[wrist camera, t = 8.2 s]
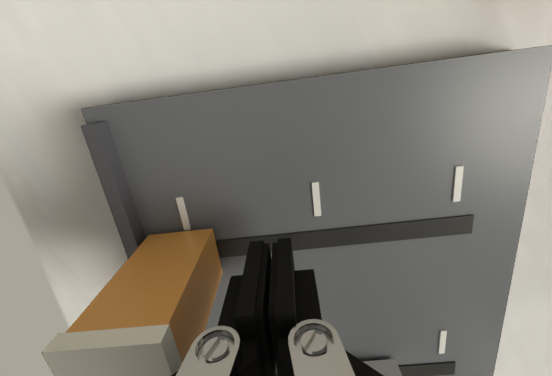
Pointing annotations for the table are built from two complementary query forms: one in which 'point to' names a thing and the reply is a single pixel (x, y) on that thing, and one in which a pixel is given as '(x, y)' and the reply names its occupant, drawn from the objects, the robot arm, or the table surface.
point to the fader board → (350, 192)
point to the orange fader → (144, 311)
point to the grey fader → (385, 367)
